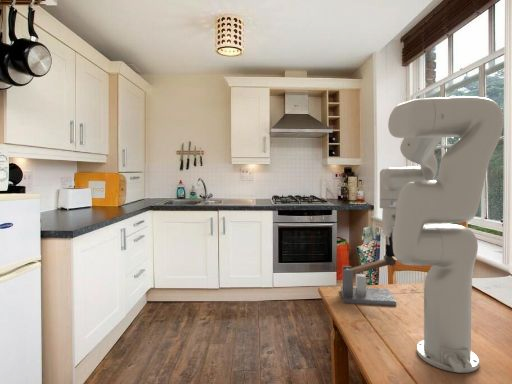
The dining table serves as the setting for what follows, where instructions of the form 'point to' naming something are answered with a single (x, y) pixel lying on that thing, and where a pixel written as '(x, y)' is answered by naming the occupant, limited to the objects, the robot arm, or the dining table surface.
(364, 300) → the base
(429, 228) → the robot arm
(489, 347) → the dining table surface
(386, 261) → the lever
